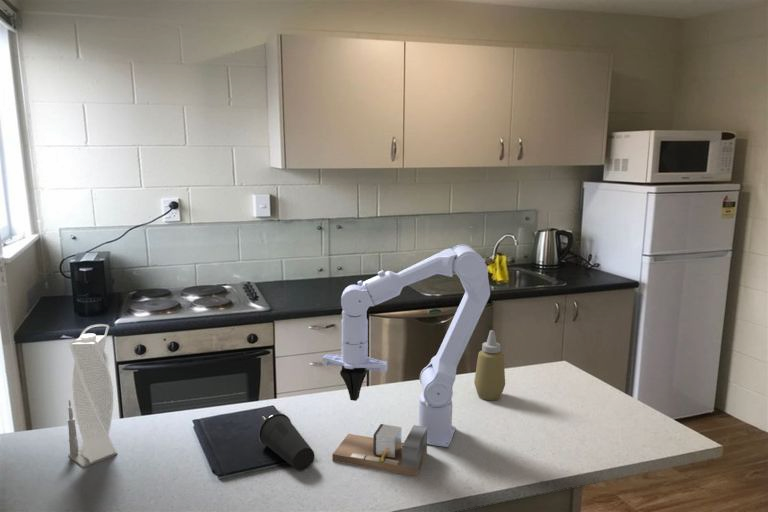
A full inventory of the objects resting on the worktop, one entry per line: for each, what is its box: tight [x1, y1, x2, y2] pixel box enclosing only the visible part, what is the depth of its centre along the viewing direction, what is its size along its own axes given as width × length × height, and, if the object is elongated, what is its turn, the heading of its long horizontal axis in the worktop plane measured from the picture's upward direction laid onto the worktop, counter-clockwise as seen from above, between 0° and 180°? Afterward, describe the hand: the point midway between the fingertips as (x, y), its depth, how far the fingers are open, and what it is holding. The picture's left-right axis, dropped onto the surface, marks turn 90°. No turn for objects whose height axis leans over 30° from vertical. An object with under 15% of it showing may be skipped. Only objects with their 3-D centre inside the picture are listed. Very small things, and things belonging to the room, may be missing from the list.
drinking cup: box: [258, 412, 315, 472], centre depth 123 cm, size 8×8×20 cm
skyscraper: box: [67, 323, 118, 469], centre depth 119 cm, size 8×8×28 cm
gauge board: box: [331, 424, 428, 477], centre depth 121 cm, size 9×18×6 cm, turn 73°
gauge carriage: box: [372, 423, 403, 461], centre depth 120 cm, size 7×5×4 cm, turn 163°
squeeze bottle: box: [473, 329, 506, 401], centre depth 151 cm, size 8×8×18 cm
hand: (354, 398), depth 128 cm, fingers closed
